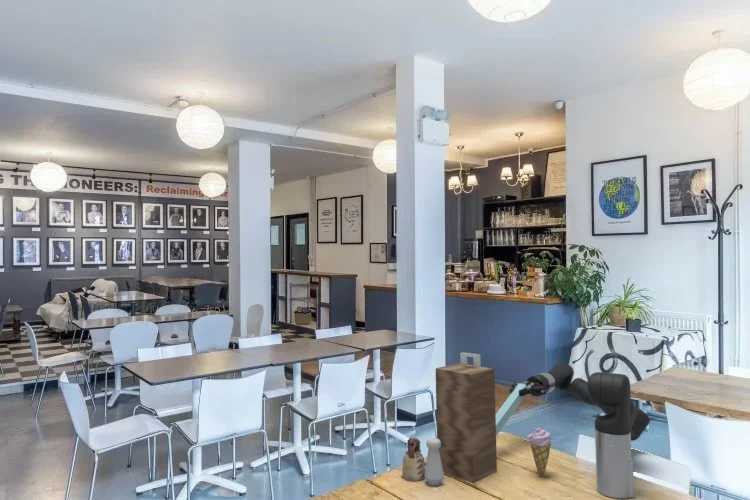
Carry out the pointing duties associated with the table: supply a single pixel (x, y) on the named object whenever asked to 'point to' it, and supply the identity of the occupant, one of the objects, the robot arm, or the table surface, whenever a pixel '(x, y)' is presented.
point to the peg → (508, 407)
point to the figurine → (413, 462)
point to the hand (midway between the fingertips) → (515, 392)
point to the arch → (475, 358)
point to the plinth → (466, 421)
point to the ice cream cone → (540, 449)
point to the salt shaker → (434, 463)
